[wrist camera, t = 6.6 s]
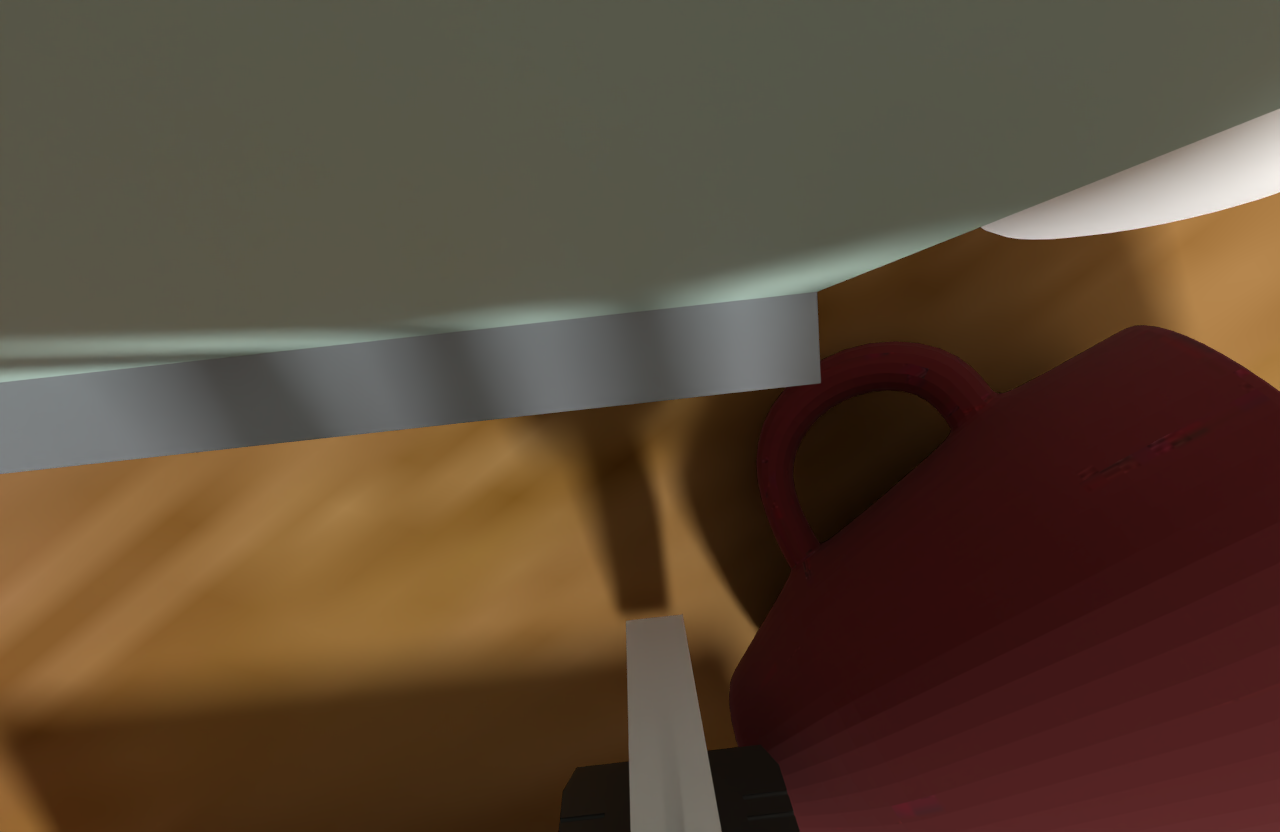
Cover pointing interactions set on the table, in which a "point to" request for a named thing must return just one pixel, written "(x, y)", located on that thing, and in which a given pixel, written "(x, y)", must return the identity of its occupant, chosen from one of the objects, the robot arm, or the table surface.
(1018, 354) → the table surface
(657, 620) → the robot arm
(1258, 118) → the cup
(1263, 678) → the mug
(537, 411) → the grey long flat pieces
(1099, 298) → the table surface
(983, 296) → the table surface
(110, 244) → the lid
